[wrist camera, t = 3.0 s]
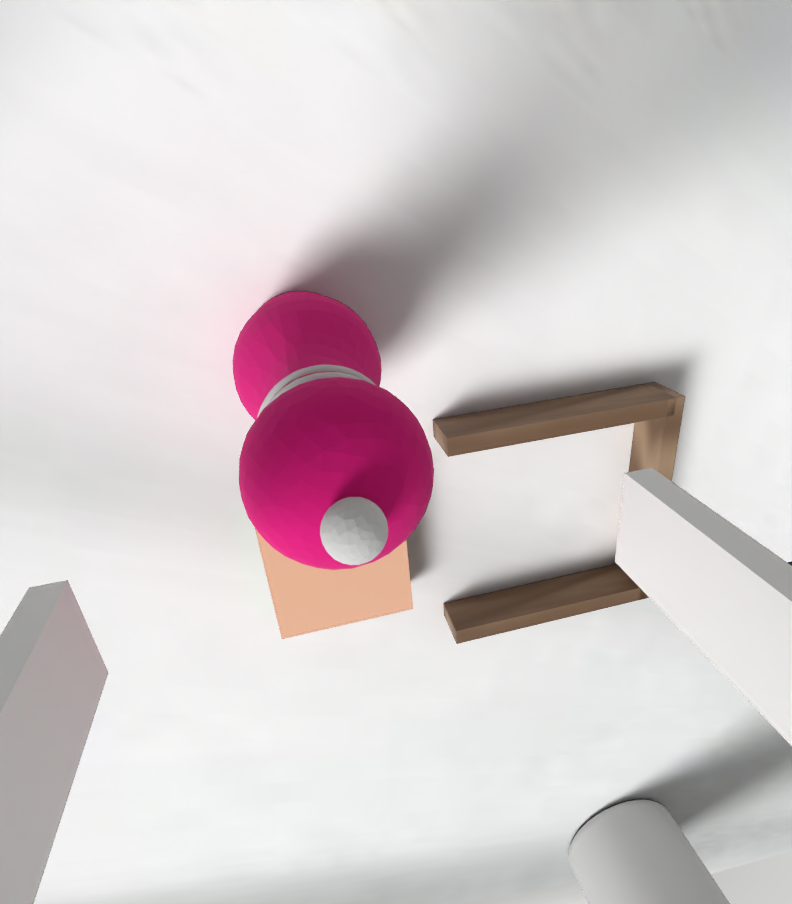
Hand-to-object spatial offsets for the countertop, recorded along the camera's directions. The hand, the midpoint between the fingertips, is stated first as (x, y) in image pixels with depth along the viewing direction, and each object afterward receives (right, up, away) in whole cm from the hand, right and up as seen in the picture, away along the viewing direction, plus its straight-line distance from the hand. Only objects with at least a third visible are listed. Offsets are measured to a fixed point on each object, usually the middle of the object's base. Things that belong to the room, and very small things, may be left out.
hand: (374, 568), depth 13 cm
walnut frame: (+11, -1, +27) cm, 29 cm away
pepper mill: (-5, +9, +18) cm, 21 cm away
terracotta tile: (-4, -4, +25) cm, 25 cm away
